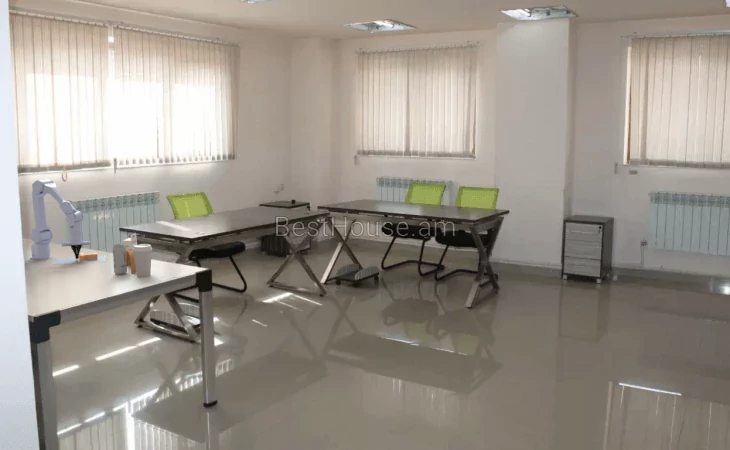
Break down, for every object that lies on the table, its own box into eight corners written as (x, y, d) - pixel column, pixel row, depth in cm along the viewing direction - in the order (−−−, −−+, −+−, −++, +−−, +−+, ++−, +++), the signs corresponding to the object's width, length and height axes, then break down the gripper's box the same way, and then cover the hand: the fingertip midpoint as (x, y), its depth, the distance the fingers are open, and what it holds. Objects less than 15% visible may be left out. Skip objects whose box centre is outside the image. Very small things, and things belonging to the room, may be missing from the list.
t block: (79, 261, 356) (79, 256, 355) (80, 258, 365) (79, 252, 364) (97, 260, 359) (97, 255, 358) (97, 257, 368) (97, 251, 368)
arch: (131, 273, 331) (130, 254, 330) (125, 266, 349) (124, 247, 348) (143, 272, 334) (142, 253, 333) (137, 265, 352) (136, 246, 350)
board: (52, 265, 347) (52, 265, 347) (55, 259, 364) (55, 258, 364) (105, 262, 356) (105, 261, 356) (106, 256, 373) (106, 255, 373)
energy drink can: (125, 275, 327) (123, 245, 325) (112, 275, 327) (111, 245, 325) (128, 272, 333) (126, 243, 331) (116, 272, 333) (114, 243, 331)
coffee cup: (157, 274, 330) (156, 244, 327) (145, 278, 321) (144, 248, 318) (141, 272, 333) (140, 243, 331) (129, 276, 324) (127, 246, 322)
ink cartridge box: (129, 258, 368) (128, 232, 366) (138, 258, 368) (136, 232, 366) (123, 261, 359) (122, 234, 357) (132, 261, 359) (131, 235, 357)
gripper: (60, 235, 351) (62, 260, 353) (90, 234, 356) (91, 259, 358) (61, 233, 358) (63, 258, 360) (90, 232, 363) (91, 256, 365)
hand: (77, 258), depth 359 cm, fingers closed
